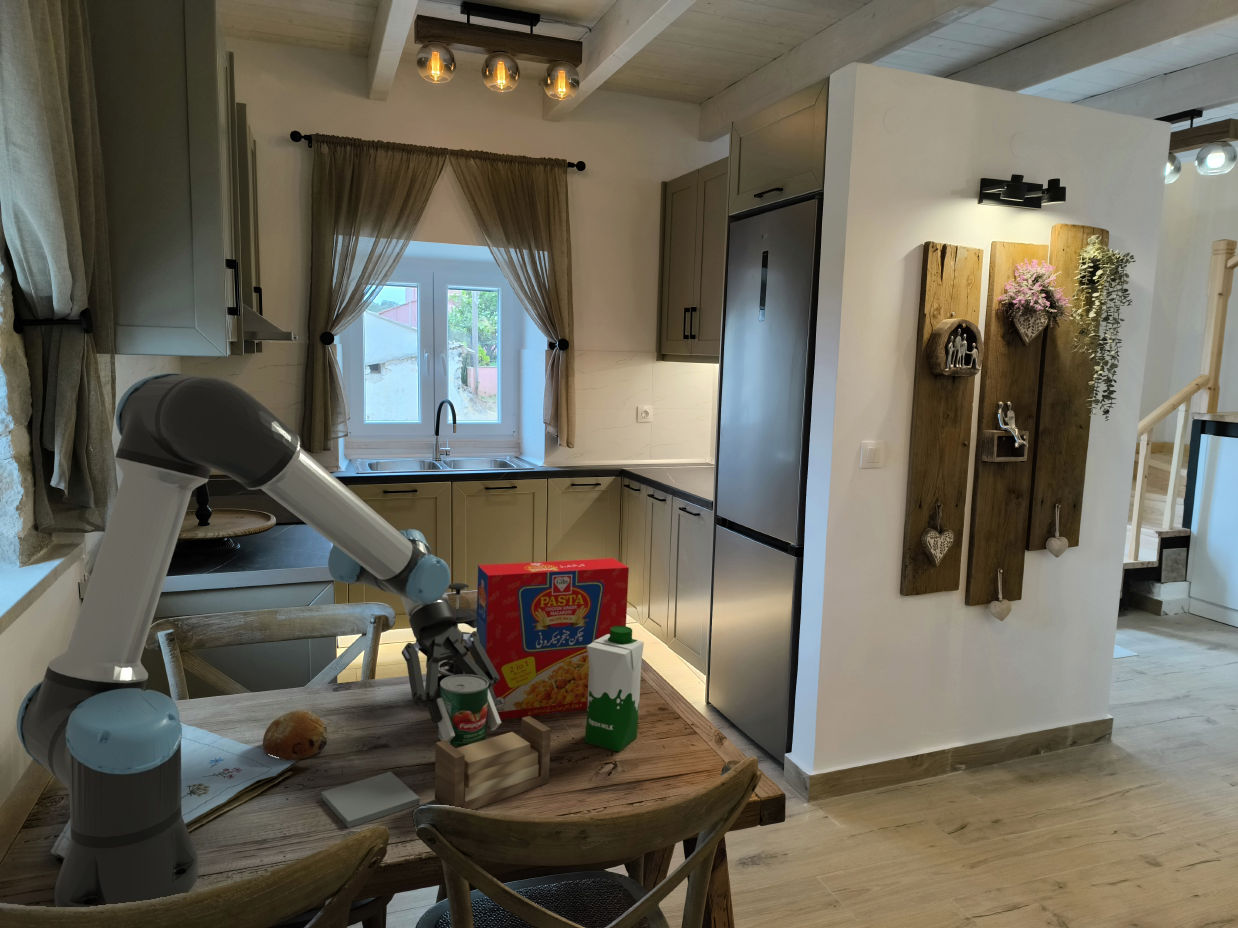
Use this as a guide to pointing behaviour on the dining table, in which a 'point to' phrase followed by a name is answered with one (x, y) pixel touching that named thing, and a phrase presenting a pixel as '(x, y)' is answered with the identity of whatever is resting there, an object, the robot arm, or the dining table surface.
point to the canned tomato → (465, 707)
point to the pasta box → (546, 629)
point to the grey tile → (370, 799)
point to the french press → (468, 618)
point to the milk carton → (613, 689)
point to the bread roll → (295, 736)
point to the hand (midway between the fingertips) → (473, 732)
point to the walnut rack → (452, 791)
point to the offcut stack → (497, 764)
